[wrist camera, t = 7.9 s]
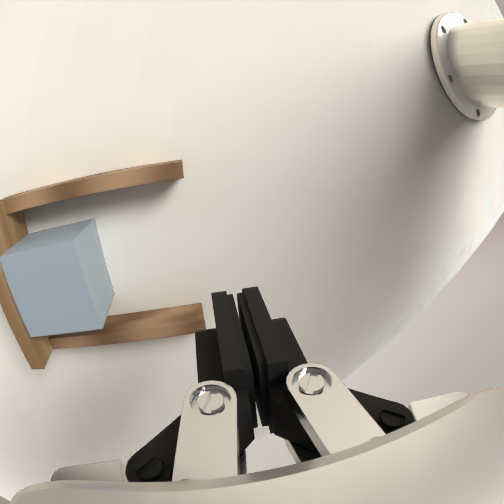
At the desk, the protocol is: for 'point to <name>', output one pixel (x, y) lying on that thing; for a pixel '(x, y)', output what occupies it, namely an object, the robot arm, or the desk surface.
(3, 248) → the bay
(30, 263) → the blue-grey cube
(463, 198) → the desk surface
